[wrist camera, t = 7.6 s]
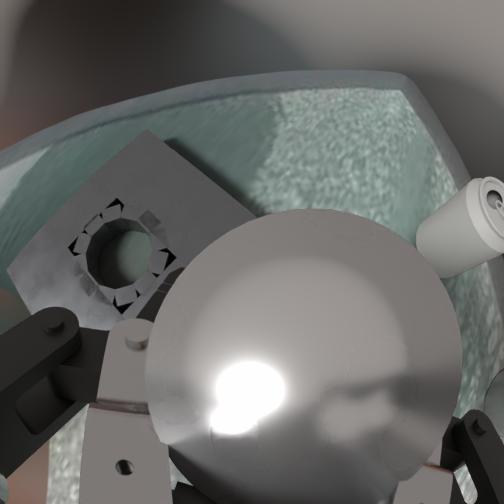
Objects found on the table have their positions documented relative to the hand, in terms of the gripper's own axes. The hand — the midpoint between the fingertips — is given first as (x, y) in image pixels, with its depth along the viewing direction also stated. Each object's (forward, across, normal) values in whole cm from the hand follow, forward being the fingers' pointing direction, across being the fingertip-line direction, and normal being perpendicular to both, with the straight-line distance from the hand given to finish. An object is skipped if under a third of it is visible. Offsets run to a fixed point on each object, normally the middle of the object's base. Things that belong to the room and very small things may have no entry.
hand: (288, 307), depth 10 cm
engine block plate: (+15, +14, +11) cm, 23 cm away
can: (+23, -18, +3) cm, 29 cm away
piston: (+2, 0, +4) cm, 5 cm away
